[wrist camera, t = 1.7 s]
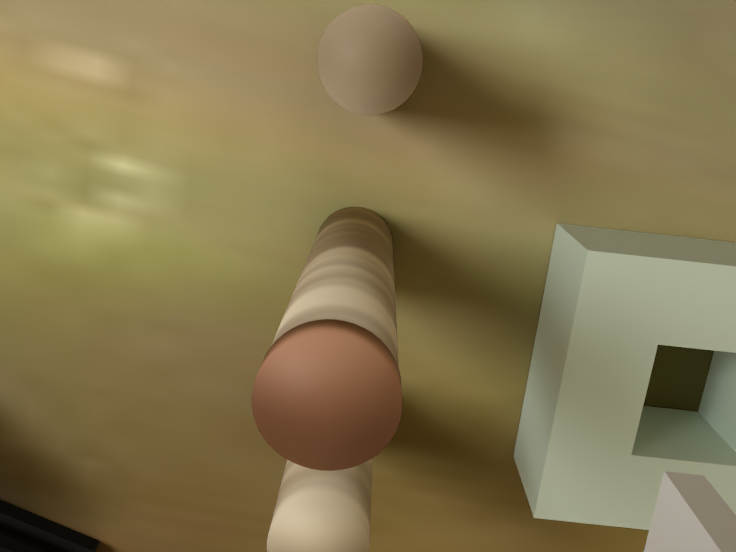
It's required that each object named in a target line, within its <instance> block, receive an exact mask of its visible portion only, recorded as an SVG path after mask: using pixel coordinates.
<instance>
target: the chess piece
mask: <svg viewBox="0 0 736 552" xmlns="http://www.w3.org/2000/svg"><path fill="white" fill-rule="evenodd" d="M98 543H99V541H98V540H96V539H93V538H91V537H88V536H86V535H83V534H81V533H79V532H76V531H74V530H71V529H69V528H67V527H64V526H62V525H59V524H57V523H55V522H52V521H50V520H47V519H45V518H43V517H40V516H38V515H35V514H33V513H31V512H28V511H26V510H23V509H21V508H19V507H16V506H14V505H11V504H9V503H7V502H4V501H2V500H0V552H95V550H96V548H97V546H98Z"/></svg>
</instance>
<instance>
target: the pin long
mask: <svg viewBox="0 0 736 552" xmlns="http://www.w3.org/2000/svg"><path fill="white" fill-rule="evenodd" d="M252 410H253V416H254V419H255V422H256V425H257V427H258V429H259V431H260V433H261V434H262V436H263V438H264V439H265V440H266V441H267V443H268V444H269V445H270V446H271V447H272V448H273V449H274V450H275V451H276V452H277V453H279V454H280V455H281V456H283V457H284V458H286V459H287V460H289V461H291V462H293V463H295V464H298V465H300V466H303V467H306V468H310V469H315V470H322V471H335V470H343V469H349V468H352V467H355V466H358V465H360V464H363V463H365V462H367V461H368V460H370V459H372V458H373V457H375V456H376V455H377V454H378V453H380V452H381V451H382V450H383V449H384V448H385V447H386V446H387V445H388V443H389V442H390V441H391V439H392V438H393V436H394V434H395V432H396V430H397V428H398V425H399V422H400V419H401V414H402V388H401V376H400V372H399V367H398V345H397V324H396V302H395V281H394V259H393V240H392V235H391V232H390V229H389V227H388V225H387V224H386V223H385V221H384V220H383V219H382V218H381V217H380V216H379V215H378V214H376V213H374V212H373V211H371V210H368V209H365V208H361V207H348V208H343V209H340V210H338V211H336V212H334V213H333V214H331V215H330V216H329V217H328V218H327V219H326V220H325V221H324V222H323V224H322V226H321V228H320V230H319V232H318V234H317V237H316V239H315V242H314V244H313V247H312V249H311V251H310V254H309V256H308V259H307V261H306V263H305V266H304V268H303V271H302V273H301V276H300V278H299V280H298V283H297V285H296V288H295V290H294V292H293V295H292V297H291V300H290V302H289V305H288V307H287V309H286V312H285V314H284V317H283V319H282V321H281V324H280V326H279V329H278V331H277V334H276V336H275V338H274V341H273V343H272V346H271V347H270V349H269V350H268V352H267V354H266V356H265V358H264V360H263V362H262V365H261V367H260V369H259V372H258V374H257V376H256V379H255V382H254V386H253V391H252Z"/></svg>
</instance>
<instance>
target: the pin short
mask: <svg viewBox="0 0 736 552" xmlns="http://www.w3.org/2000/svg"><path fill="white" fill-rule="evenodd" d="M317 66H318V72H319V76H320V79H321V82H322V84H323V86H324V88H325V90H326V91H327V93H328V94H329V96H330V97H331V98H332V99H333V100H334V101H335V102H336V103H337V104H339V105H340V106H341V107H343V108H345V109H346V110H349V111H351V112H353V113H357V114H361V115H379V114H383V113H387V112H389V111H392V110H393V109H395V108H397V107H399V106H400V105H401V104H403V103H404V102H405V101H406V100H407V99H408V98H409V97H410V95H411V94H412V93H413V91H414V90H415V88H416V86H417V84H418V82H419V79H420V76H421V73H422V67H423V53H422V47H421V43H420V40H419V38H418V36H417V34H416V32H415V30H414V28H413V27H412V25H411V24H410V23H409V22H408V21H407V20H406V19H405V18H404V17H403V16H402V15H400V14H399V13H397V12H396V11H394V10H392V9H390V8H387V7H384V6H379V5H361V6H356V7H353V8H351V9H348V10H346V11H345V12H343V13H341V14H340V15H339V16H337V17H336V18H335V19H334V20H333V21H332V22H331V23H330V25H329V26H328V27H327V29H326V30H325V32H324V34H323V36H322V38H321V41H320V44H319V48H318V54H317Z"/></svg>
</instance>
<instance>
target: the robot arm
mask: <svg viewBox="0 0 736 552" xmlns="http://www.w3.org/2000/svg"><path fill="white" fill-rule="evenodd" d="M644 552H736V515H735V514H734V512H733V511H732V510H731V509H730V507H729V506H728V505H727V504H726V502H725V501H724V500H723V499H722V497H721V496H720V495H719V494H718V492H717V491H716V490H715V489H714V487H713V486H712V485H711V484H710V482H709V481H708V480H707V479H706V477H705V476H704V475H695V474H686V473H677V472H667V471H664V474H663V478H662V482H661V486H660V490H659V494H658V498H657V502H656V505H655V509H654V513H653V517H652V521H651V525H650V529H649V533H648V537H647V541H646V545H645V549H644Z"/></svg>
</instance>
